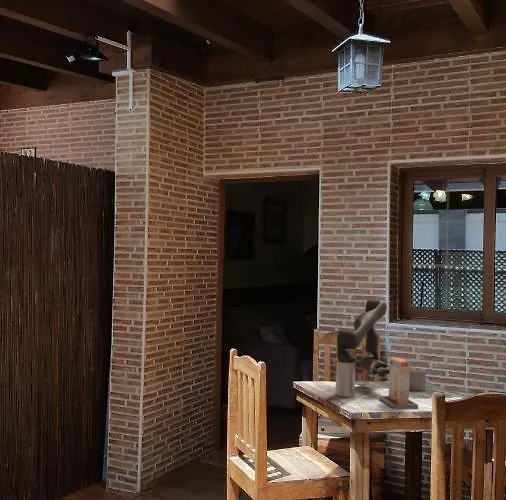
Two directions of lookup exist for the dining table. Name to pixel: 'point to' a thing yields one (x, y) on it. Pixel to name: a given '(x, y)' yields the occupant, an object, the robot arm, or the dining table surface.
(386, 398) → the tray
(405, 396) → the cracker box
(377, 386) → the dining table surface
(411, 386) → the coffee mug
